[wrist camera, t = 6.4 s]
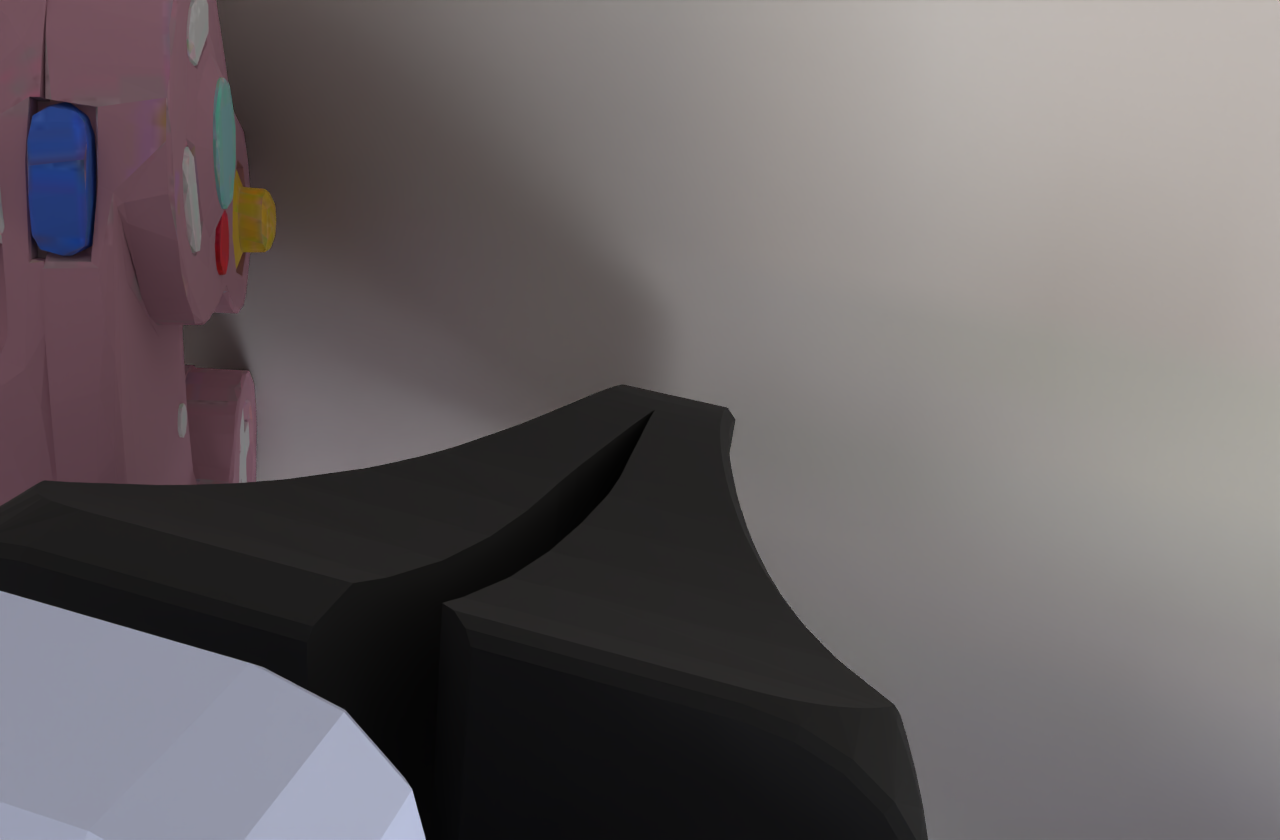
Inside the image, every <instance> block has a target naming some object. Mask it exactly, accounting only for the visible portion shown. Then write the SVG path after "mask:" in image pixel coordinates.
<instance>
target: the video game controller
mask: <svg viewBox="0 0 1280 840" xmlns="http://www.w3.org/2000/svg"><path fill="white" fill-rule="evenodd" d="M275 233H276V209H275V203H274V201H273V199H272V197H271V195H270V193H269V192H268V191H267V190H266V189H260V188H250V180H249V164H248V157H247V150H246V143H245V135H244V131H243V129H242V127H241V125H240V123H239V121H238V119H237V117H236V115H235V113H234V111H233V103H232V96H231V91H230V85H229V83H228V76H227V69H226V62H225V55H224V49H223V42H222V35H221V28H220V22H219V15H218V8H217V1H216V0H0V506H1V505H3V504H5V503H6V502H8V501H9V500H11V499H13V498H14V497H16V496H18V495H19V494H21V493H23V492H24V491H26V490H28V489H29V488H31V487H32V486H34V485H36V484H37V483H39V482H41V481H44V480H47V481H62V482H84V483H114V484H145V485H198V484H226V483H245V482H256V449H257V416H256V401H255V388H254V382H253V379H252V377H251V374H250V371H244V370H228V369H211V368H196V367H195V366H194V365H184V348H183V325H204V324H205V323H206V322H207V321H208V320H209V319H210V317H211V315H212V314H213V312H214V313H238V312H239V311H240V309H241V308H242V307H243V305H244V302H245V296H246V291H247V281H248V271H249V261H250V252H266V251H268V250H269V249H271V246H272V244H273V241H274V238H275Z"/></svg>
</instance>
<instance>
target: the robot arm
mask: <svg viewBox="0 0 1280 840" xmlns="http://www.w3.org/2000/svg"><path fill="white" fill-rule="evenodd" d="M734 424H735V418H734V417H733V415H732V414H731V412H730V411H729V409H728V408H726V407H722V406H717V405H713V404H708V403H704V402H699V401H695V400H690V399H686V398H681V397H677V396H672V395H668V394H663V393H658V392H654V391H649V390H645V389H640V388H636V387H631V386H627V385H619V386H615V387H612V388H609V389H606V390H603V391H601V392H598V393H596V394H593V395H591V396H588V397H586V398H583V399H581V400H579V401H576V402H574V403H572V404H569V405H567V406H564V407H562V408H559V409H557V410H555V411H552V412H550V413H547V414H545V415H542V416H540V417H537V418H535V419H532V420H530V421H528V422H525V423H523V424H520V425H517V426H514V427H512V428H509V429H506V430H503V431H500V432H497V433H494V434H491V435H488V436H485V437H483V438H480V439H477V440H474V441H471V442H468V443H465V444H462V445H459V446H456V447H453V448H450V449H446V450H443V451H439V452H436V453H432V454H428V455H424V456H420V457H416V458H412V459H407V460H403V461H398V462H394V463H389V464H385V465H381V466H375V467H370V468H365V469H358V470H351V471H343V472H336V473H329V474H322V475H315V476H307V477H300V478H293V479H284V480H273V481H259V482H245V483H226V484H198V485H145V484H114V483H84V482H62V481H47V480H44V481H41V482H39V483H37V484H36V485H34V486H32V487H31V488H29V489H28V490H26V491H24V492H23V493H21V494H19V495H18V496H16V497H14V498H13V499H11V500H9V501H8V502H6V503H5V504H3V505H1V506H0V840H928V837H927V830H926V824H925V817H924V810H923V804H922V799H921V795H920V790H919V785H918V780H917V776H916V771H915V767H914V763H913V759H912V755H911V751H910V748H909V744H908V740H907V736H906V732H905V729H904V726H903V722H902V719H901V716H900V714H899V712H898V710H897V708H896V707H895V705H894V704H892V703H891V702H890V701H889V700H887V699H886V698H885V697H884V696H882V695H881V694H880V693H879V692H877V691H876V690H875V689H874V688H872V687H871V686H870V685H869V684H867V683H866V682H865V681H864V680H862V679H861V678H860V677H858V676H857V675H856V674H855V673H853V672H852V671H851V670H850V669H848V668H847V667H846V666H845V665H843V664H842V663H841V662H840V661H839V660H838V659H836V658H835V657H834V656H833V655H832V654H831V653H830V652H829V651H828V650H827V649H826V648H825V647H824V646H823V645H822V644H821V643H820V641H819V640H818V639H817V638H816V637H815V636H814V635H813V634H812V633H811V632H810V631H809V630H808V629H807V628H806V627H805V626H804V625H803V623H802V622H801V621H800V620H799V618H798V617H797V616H796V614H795V613H794V612H793V610H792V609H791V608H790V606H789V605H788V604H787V602H786V601H785V600H784V598H783V597H782V596H781V594H780V593H779V591H778V589H777V588H776V586H775V584H774V582H773V581H772V579H771V577H770V576H769V574H768V572H767V570H766V568H765V566H764V564H763V562H762V560H761V558H760V556H759V554H758V552H757V550H756V548H755V546H754V543H753V541H752V539H751V536H750V534H749V531H748V529H747V526H746V523H745V520H744V517H743V514H742V511H741V508H740V504H739V501H738V497H737V493H736V489H735V484H734V479H733V474H732V469H731V463H730V455H729V452H730V447H731V441H732V436H733V430H734Z"/></svg>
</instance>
